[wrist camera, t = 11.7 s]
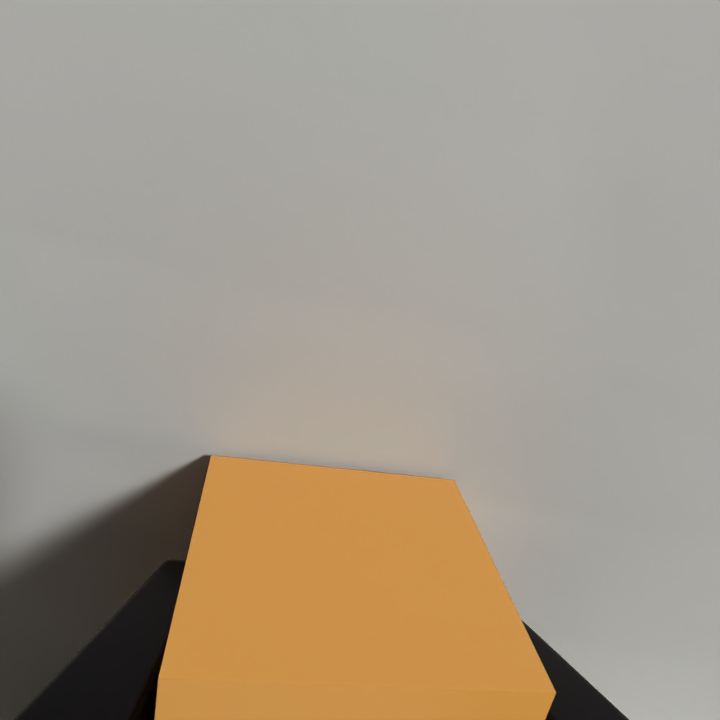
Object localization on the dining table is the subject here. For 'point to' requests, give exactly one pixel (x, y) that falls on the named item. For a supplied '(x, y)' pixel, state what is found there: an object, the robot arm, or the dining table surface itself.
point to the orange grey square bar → (342, 604)
